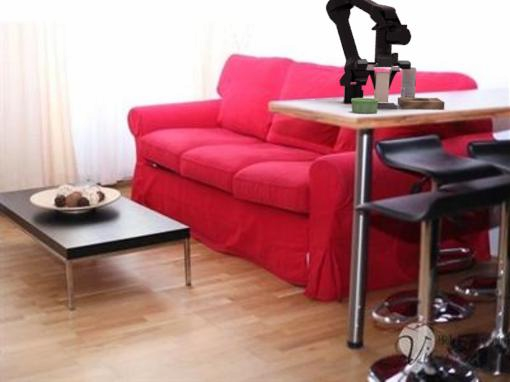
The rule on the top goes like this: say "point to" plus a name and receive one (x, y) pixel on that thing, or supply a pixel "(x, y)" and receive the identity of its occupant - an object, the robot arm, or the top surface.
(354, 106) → the ramekin
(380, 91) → the pink block
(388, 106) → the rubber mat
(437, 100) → the pocket block
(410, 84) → the energy drink
